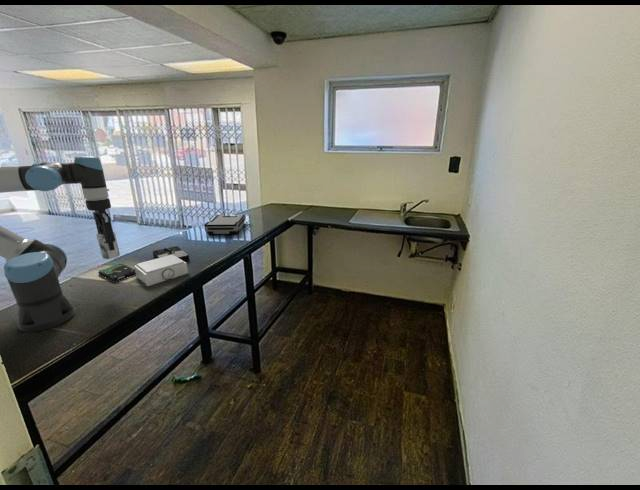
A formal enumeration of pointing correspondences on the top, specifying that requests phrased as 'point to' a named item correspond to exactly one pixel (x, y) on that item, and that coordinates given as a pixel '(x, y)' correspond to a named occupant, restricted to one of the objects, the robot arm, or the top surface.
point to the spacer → (103, 246)
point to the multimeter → (171, 253)
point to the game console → (225, 225)
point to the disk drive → (117, 272)
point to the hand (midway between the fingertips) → (110, 255)
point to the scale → (160, 269)
